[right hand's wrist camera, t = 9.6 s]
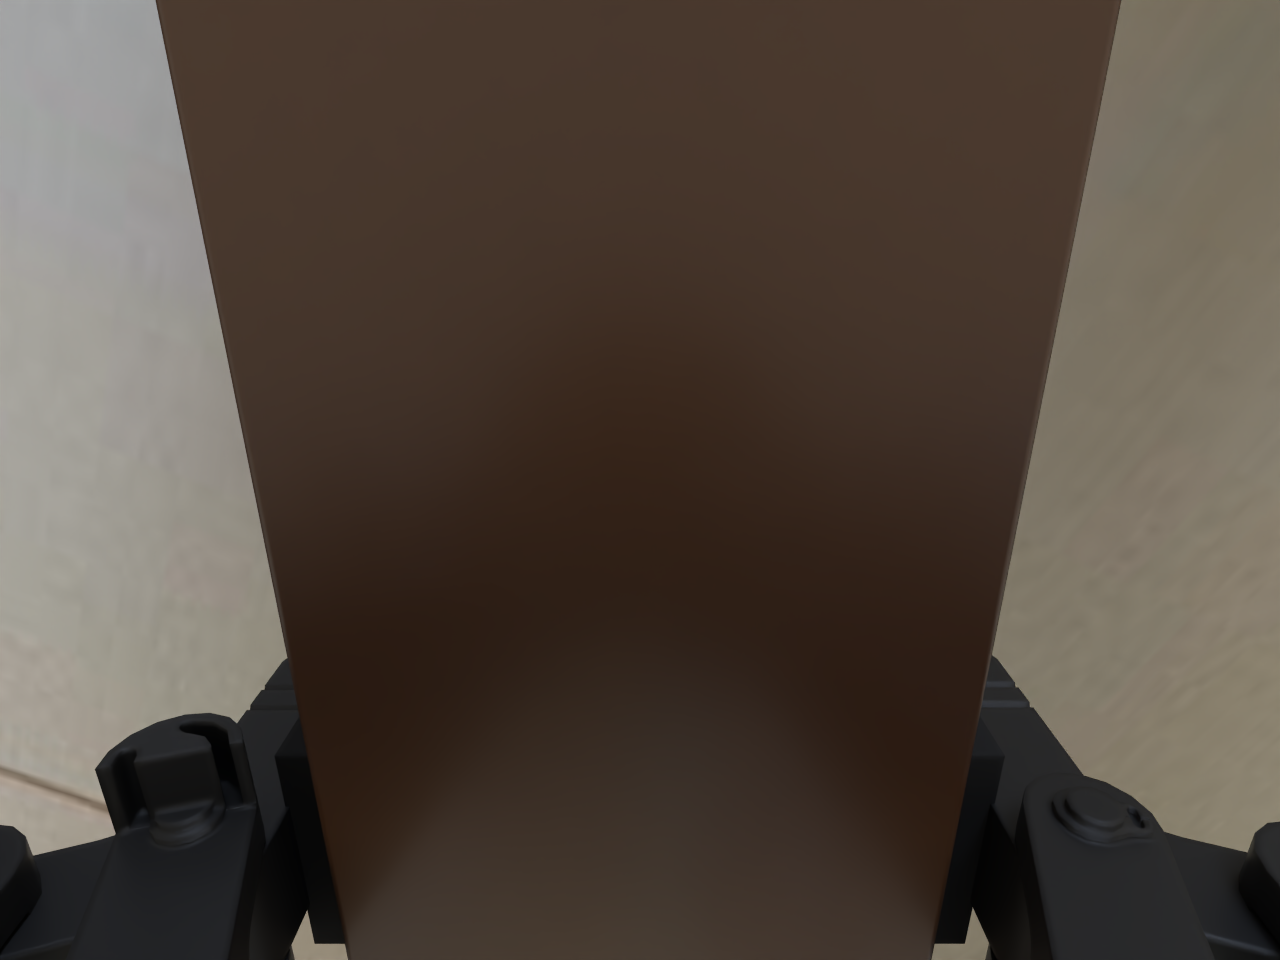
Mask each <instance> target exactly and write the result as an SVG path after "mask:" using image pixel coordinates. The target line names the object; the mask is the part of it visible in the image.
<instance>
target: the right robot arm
mask: <svg viewBox="0 0 1280 960" xmlns="http://www.w3.org/2000/svg"><path fill="white" fill-rule="evenodd" d="M95 771H96V774H97V777H98V780H99V783H100V786H101V789H102V792H103V795H104V798H105V802H106V805H107V808H108V811H109V814H110V817H111V820H112V823H113V826H114V829H115V832H116V834H115V836H111V837H108V838H105V839H102V840H98V841H94V842H90V843H85V844H81V845H77V846H73V847H68V848H64V849H60V850H56V851H51V852H47V853H43V854H39V855H35V856H33V855H32V852H31V850H30V847H29V844H28V842H27V839H26V836H24V835H23V834H22V833H21V832H19V831H18V830H17V829H16V828H14V827H13V826H4V825H0V960H295V959H294V955H293V950H292V946H291V944H292V942H293V940H294V938H295V936H296V933H297V931H298V929H299V927H300V925H301V922H302V920H303V918H304V916H305V914H306V911H307V910H308V915H309V919H310V924H311V928H312V933H313V938H314V942H315V944H345V941H344V936H343V931H342V926H341V921H340V916H339V911H338V906H337V901H336V896H335V891H334V886H333V881H332V876H331V871H330V866H329V861H328V857H327V852H326V847H325V842H324V837H323V832H322V827H321V822H320V817H319V812H318V807H317V802H316V797H315V792H314V787H313V782H312V777H311V772H310V767H309V762H308V757H307V752H306V747H305V742H304V737H303V732H302V727H301V722H300V717H299V712H298V707H297V702H296V697H295V692H294V687H293V682H292V677H291V672H290V667H289V662H288V658H287V659H286V660H284V661H283V662H282V663H281V664H280V666H279V667H278V669H277V670H276V671H275V673H274V674H273V675H272V677H271V678H270V679H269V681H268V682H267V683H266V685H265V690H261V692H260V693H259V694H258V696H257V697H256V698H255V700H254V701H253V703H252V704H251V708H250V710H247V711H246V712H245V713H244V715H243V716H242V717H241V719H240V720H239V722H238V723H236V722H234V721H233V720H232V719H231V718H230V717H226V716H221V715H217V714H212V713H202V714H188V715H182V716H178V717H175V718H171V719H167V720H164V721H160V722H157V723H155V724H153V725H151V726H148V727H146V728H144V729H142V730H140V731H138V732H136V733H134V734H132V735H130V736H129V737H127V738H126V739H125V740H123V741H122V742H121V743H119V744H118V745H117V746H115V747H114V748H113V749H111V750H110V751H109V752H108V753H107V754H106V756H105V757H104V758H103V760H102V761H101V762H100V763H99V765H98V766H97V767H96V769H95ZM972 907H973V909H974V911H975V913H976V915H977V917H978V920H979V922H980V924H981V926H982V928H983V931H984V933H985V935H986V937H987V939H988V942H989V946H988V950H987V955H986V959H985V960H1280V822H1273V823H1267V824H1266V825H1264V826H1263V827H1262V828H1261V829H1259V830H1258V831H1257V832H1256V833H1255V834H1254V837H1253V840H1252V842H1251V845H1250V848H1249V850H1248V853H1247V852H1243V851H1238V850H1234V849H1230V848H1226V847H1221V846H1217V845H1213V844H1208V843H1204V842H1200V841H1196V840H1191V839H1187V838H1183V837H1179V836H1176V835H1173V834H1169V833H1166V832H1164V831H1163V830H1162V828H1161V827H1160V825H1159V824H1158V822H1157V821H1156V819H1155V817H1154V816H1153V814H1152V813H1151V812H1150V811H1148V810H1147V809H1146V808H1145V807H1144V806H1142V805H1141V804H1140V803H1139V802H1138V801H1137V800H1135V799H1134V798H1133V797H1132V796H1130V795H1128V794H1127V793H1125V792H1123V791H1121V790H1119V789H1117V788H1115V787H1114V786H1112V785H1110V784H1108V783H1106V782H1103V781H1100V780H1097V779H1093V778H1090V777H1087V776H1084V775H1083V774H1082V773H1081V771H1080V770H1079V769H1078V767H1077V766H1076V765H1075V763H1074V762H1073V761H1072V759H1071V758H1070V756H1069V755H1068V754H1067V752H1066V751H1065V750H1064V748H1063V747H1062V746H1061V744H1060V743H1059V742H1058V740H1057V739H1056V738H1055V736H1054V735H1053V734H1052V732H1051V731H1050V730H1049V728H1048V727H1047V725H1046V724H1045V723H1044V721H1043V720H1042V719H1041V717H1040V716H1039V715H1038V713H1037V712H1036V711H1035V709H1034V708H1030V705H1029V701H1028V700H1027V698H1026V697H1025V696H1024V694H1023V693H1022V692H1021V690H1020V689H1019V688H1016V687H1015V682H1014V681H1013V680H1012V678H1011V677H1010V676H1009V674H1008V673H1007V671H1006V670H1005V669H1004V667H1003V666H1002V665H1001V663H1000V662H999V661H998V659H996V658H995V657H994V656H992V655H991V661H990V666H989V671H988V676H987V681H986V686H985V691H984V696H983V701H982V706H981V711H980V716H979V721H978V726H977V731H976V736H975V741H974V746H973V751H972V756H971V762H970V767H969V772H968V777H967V782H966V787H965V792H964V797H963V802H962V807H961V812H960V817H959V822H958V827H957V832H956V837H955V842H954V847H953V852H952V858H951V863H950V868H949V873H948V878H947V883H946V888H945V893H944V898H943V903H942V908H941V913H940V918H939V923H938V928H937V933H936V938H935V943H934V944H965V940H966V935H967V931H968V926H969V921H970V917H971V912H972Z"/></svg>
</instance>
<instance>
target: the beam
mask: <svg viewBox="0 0 1280 960" xmlns="http://www.w3.org/2000/svg"><path fill="white" fill-rule="evenodd" d="M156 4H157V9H158V14H159V19H160V24H161V29H162V34H163V39H164V44H165V49H166V54H167V59H168V64H169V69H170V74H171V79H172V84H173V89H174V94H175V99H176V104H177V109H178V114H179V119H180V124H181V129H182V134H183V139H184V144H185V149H186V154H187V159H188V164H189V169H190V174H191V179H192V184H193V189H194V194H195V199H196V204H197V209H198V214H199V219H200V224H201V229H202V234H203V239H204V244H205V249H206V254H207V259H208V264H209V269H210V274H211V278H212V283H213V288H214V293H215V298H216V303H217V308H218V313H219V318H220V323H221V328H222V333H223V338H224V343H225V348H226V353H227V358H228V363H229V368H230V373H231V378H232V383H233V388H234V393H235V398H236V403H237V408H238V413H239V418H240V423H241V428H242V433H243V438H244V443H245V448H246V453H247V458H248V463H249V468H250V473H251V478H252V483H253V488H254V493H255V498H256V503H257V508H258V513H259V518H260V523H261V528H262V533H263V538H264V543H265V548H266V553H267V558H268V563H269V567H270V572H271V577H272V582H273V587H274V592H275V597H276V602H277V607H278V612H279V617H280V622H281V627H282V632H283V637H284V642H285V647H286V652H287V657H288V662H289V667H290V672H291V677H292V682H293V687H294V692H295V697H296V702H297V707H298V712H299V717H300V722H301V727H302V732H303V737H304V742H305V747H306V752H307V757H308V762H309V767H310V772H311V777H312V782H313V787H314V792H315V797H316V802H317V807H318V812H319V817H320V822H321V827H322V832H323V837H324V842H325V847H326V852H327V857H328V861H329V866H330V871H331V876H332V881H333V886H334V891H335V896H336V901H337V906H338V911H339V916H340V921H341V926H342V931H343V936H344V941H345V946H346V951H347V956H348V960H931V959H932V953H933V948H934V943H935V938H936V933H937V928H938V923H939V918H940V913H941V908H942V903H943V898H944V893H945V888H946V883H947V878H948V873H949V868H950V863H951V858H952V852H953V847H954V842H955V837H956V832H957V827H958V822H959V817H960V812H961V807H962V802H963V797H964V792H965V787H966V782H967V777H968V772H969V767H970V762H971V756H972V751H973V746H974V741H975V736H976V731H977V726H978V721H979V716H980V711H981V706H982V701H983V696H984V691H985V686H986V681H987V676H988V671H989V666H990V661H991V655H992V650H993V645H994V640H995V635H996V630H997V625H998V620H999V615H1000V610H1001V605H1002V600H1003V595H1004V590H1005V585H1006V580H1007V575H1008V570H1009V565H1010V559H1011V554H1012V549H1013V544H1014V539H1015V534H1016V529H1017V524H1018V519H1019V514H1020V509H1021V504H1022V499H1023V494H1024V489H1025V484H1026V479H1027V474H1028V469H1029V464H1030V458H1031V453H1032V448H1033V443H1034V438H1035V433H1036V428H1037V423H1038V418H1039V413H1040V408H1041V403H1042V398H1043V393H1044V388H1045V383H1046V378H1047V373H1048V368H1049V362H1050V357H1051V352H1052V347H1053V342H1054V337H1055V332H1056V327H1057V322H1058V317H1059V312H1060V307H1061V302H1062V297H1063V292H1064V287H1065V282H1066V277H1067V272H1068V267H1069V261H1070V256H1071V251H1072V246H1073V241H1074V236H1075V231H1076V226H1077V221H1078V216H1079V211H1080V206H1081V201H1082V196H1083V191H1084V186H1085V181H1086V176H1087V171H1088V165H1089V160H1090V155H1091V150H1092V145H1093V140H1094V135H1095V130H1096V125H1097V120H1098V115H1099V110H1100V105H1101V100H1102V95H1103V90H1104V85H1105V80H1106V75H1107V70H1108V64H1109V59H1110V54H1111V49H1112V44H1113V39H1114V34H1115V29H1116V24H1117V19H1118V14H1119V9H1120V4H1121V0H156Z"/></svg>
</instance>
